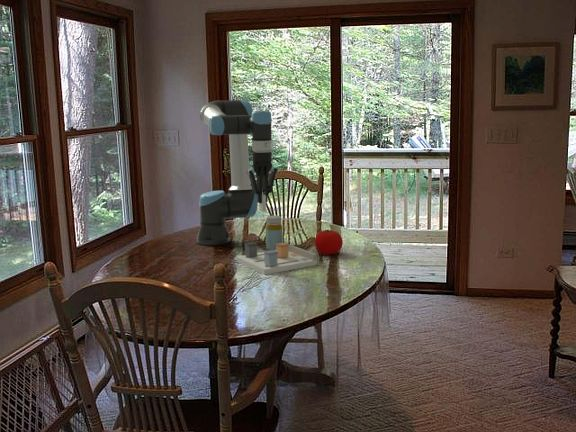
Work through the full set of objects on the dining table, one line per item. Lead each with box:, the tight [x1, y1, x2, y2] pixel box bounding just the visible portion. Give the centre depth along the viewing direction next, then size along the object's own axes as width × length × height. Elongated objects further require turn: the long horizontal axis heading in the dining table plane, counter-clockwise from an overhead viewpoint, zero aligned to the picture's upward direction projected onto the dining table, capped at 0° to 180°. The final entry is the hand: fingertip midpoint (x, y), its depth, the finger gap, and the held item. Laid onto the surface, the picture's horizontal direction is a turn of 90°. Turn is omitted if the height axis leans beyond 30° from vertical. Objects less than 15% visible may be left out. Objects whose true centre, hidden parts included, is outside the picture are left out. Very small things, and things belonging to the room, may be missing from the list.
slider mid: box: [276, 241, 290, 258], centre depth 241 cm, size 4×4×5 cm
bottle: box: [265, 214, 283, 251], centre depth 260 cm, size 7×7×15 cm
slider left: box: [243, 241, 258, 257], centre depth 243 cm, size 4×4×5 cm
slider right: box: [263, 250, 278, 266], centre depth 230 cm, size 4×4×5 cm
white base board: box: [235, 242, 318, 276], centre depth 240 cm, size 23×24×4 cm
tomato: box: [314, 229, 343, 256], centre depth 253 cm, size 12×12×10 cm
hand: (262, 210), depth 237 cm, fingers closed
